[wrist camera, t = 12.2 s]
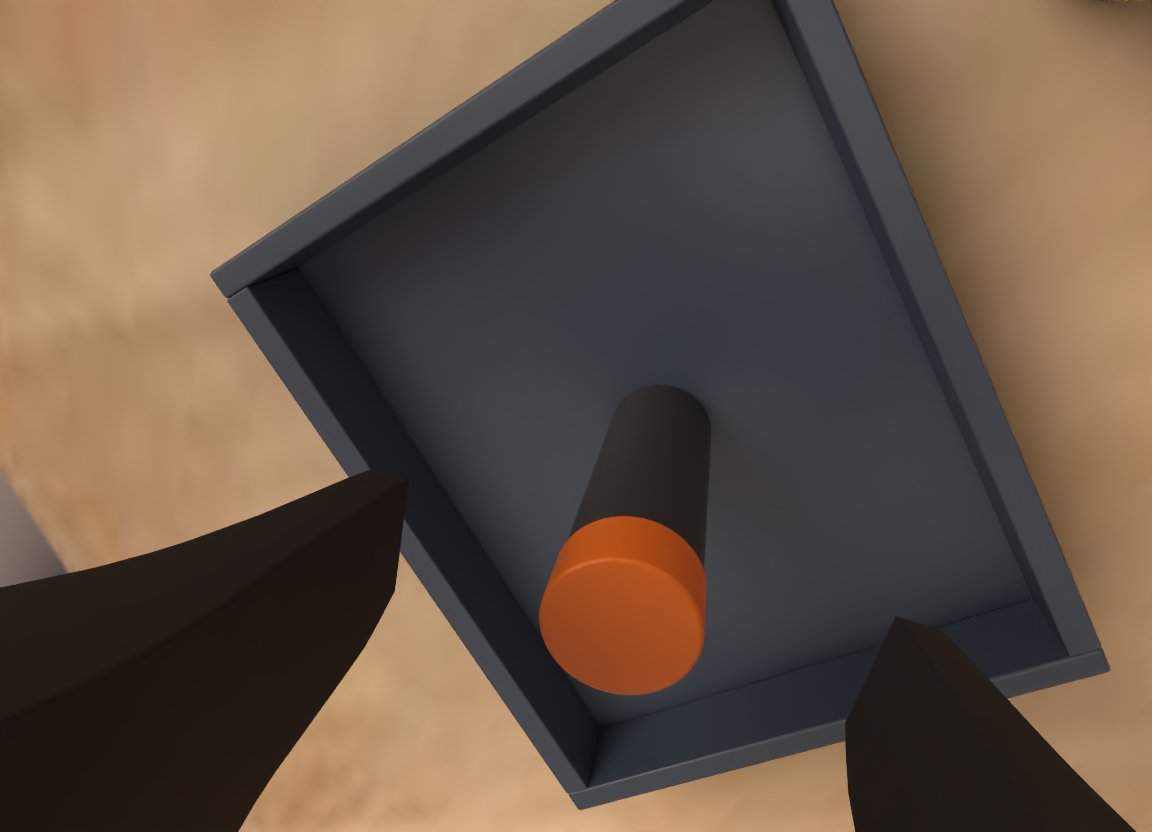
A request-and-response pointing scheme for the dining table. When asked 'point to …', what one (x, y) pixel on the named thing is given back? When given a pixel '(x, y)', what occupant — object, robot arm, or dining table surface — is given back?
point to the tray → (673, 379)
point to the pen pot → (1125, 0)
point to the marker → (636, 552)
